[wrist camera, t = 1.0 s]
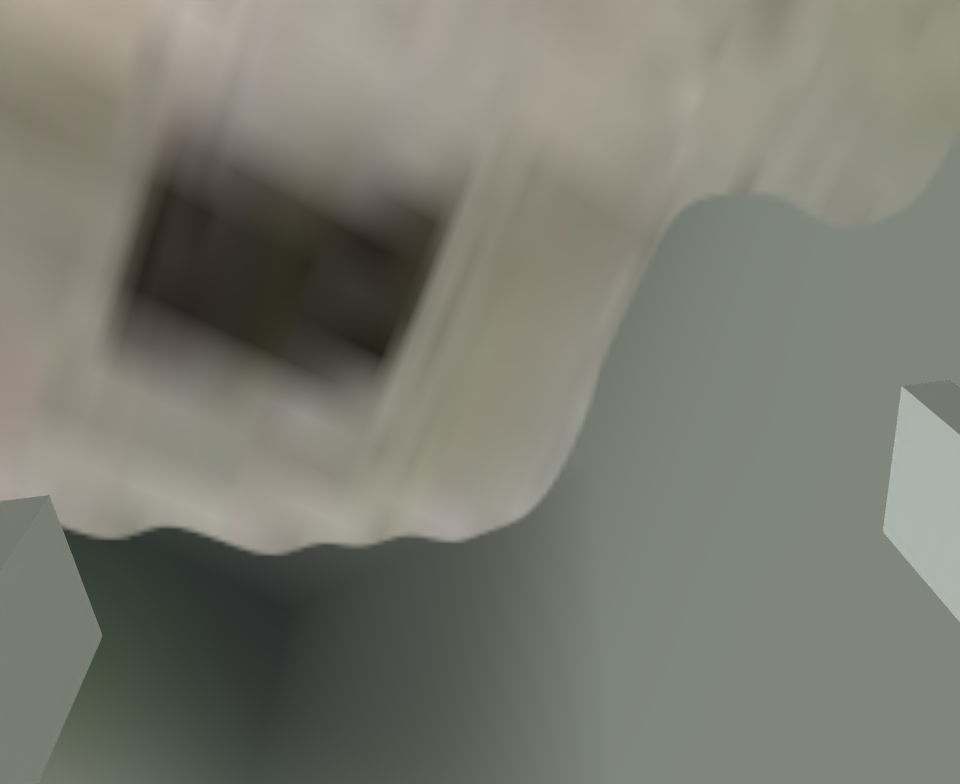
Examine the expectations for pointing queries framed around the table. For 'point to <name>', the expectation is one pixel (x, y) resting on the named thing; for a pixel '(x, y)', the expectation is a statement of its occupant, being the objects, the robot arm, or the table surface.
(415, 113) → the table surface
